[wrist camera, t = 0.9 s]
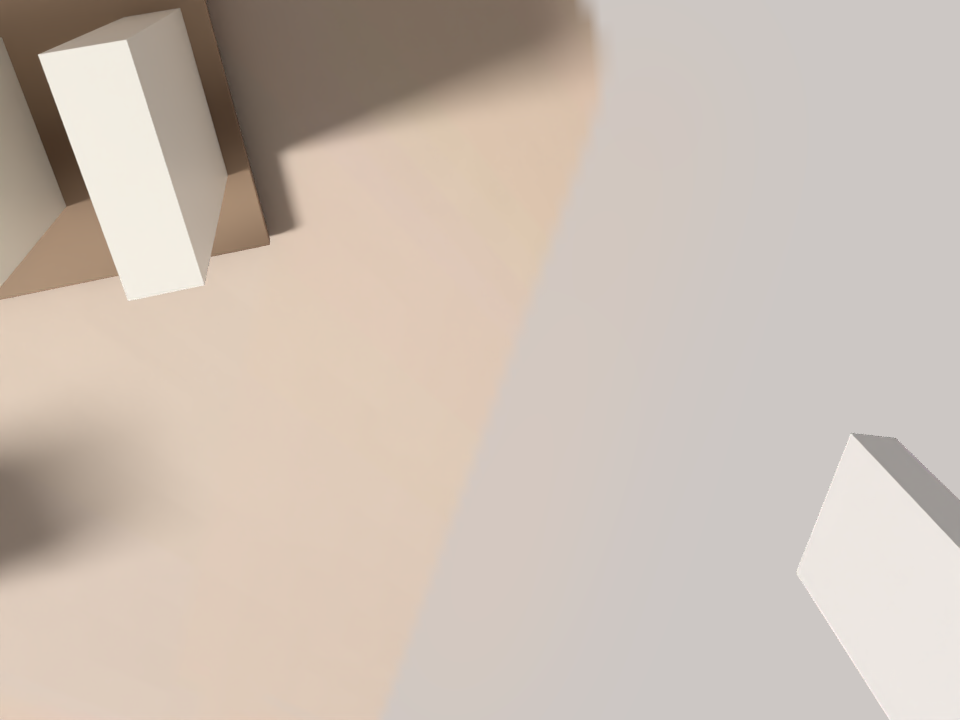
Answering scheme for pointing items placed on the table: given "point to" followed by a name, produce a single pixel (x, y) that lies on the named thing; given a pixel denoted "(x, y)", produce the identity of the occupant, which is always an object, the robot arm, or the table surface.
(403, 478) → the table surface
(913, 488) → the robot arm
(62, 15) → the board
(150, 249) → the domino
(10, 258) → the domino
